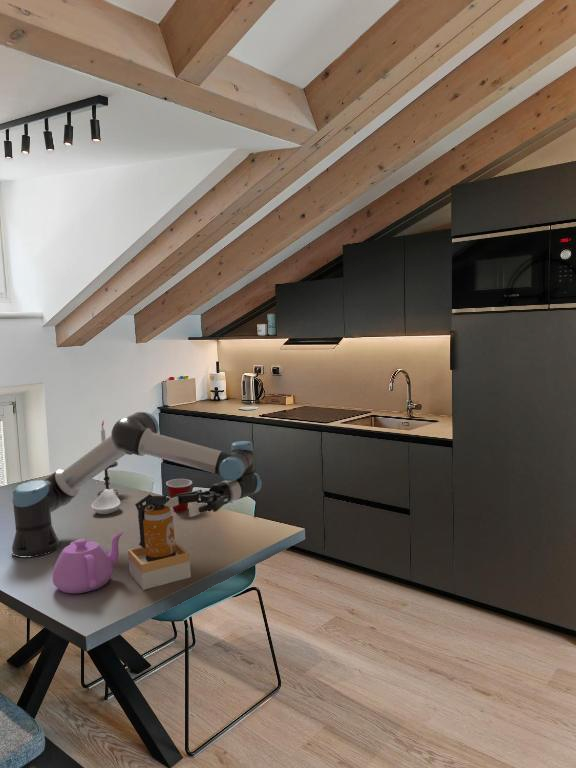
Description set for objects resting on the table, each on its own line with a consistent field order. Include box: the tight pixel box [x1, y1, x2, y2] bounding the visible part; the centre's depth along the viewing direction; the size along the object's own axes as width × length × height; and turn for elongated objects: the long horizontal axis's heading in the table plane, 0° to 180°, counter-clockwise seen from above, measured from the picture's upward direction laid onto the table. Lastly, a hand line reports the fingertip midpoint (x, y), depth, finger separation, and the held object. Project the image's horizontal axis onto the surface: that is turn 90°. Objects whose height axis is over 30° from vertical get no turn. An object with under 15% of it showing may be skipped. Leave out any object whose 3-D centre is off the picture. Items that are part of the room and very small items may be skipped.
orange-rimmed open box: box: [127, 541, 192, 591], centre depth 184 cm, size 15×15×8 cm
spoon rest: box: [90, 488, 121, 515], centre depth 258 cm, size 24×12×7 cm, turn 11°
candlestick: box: [97, 420, 119, 496], centre depth 280 cm, size 11×11×35 cm
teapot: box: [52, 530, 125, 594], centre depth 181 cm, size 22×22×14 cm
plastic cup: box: [165, 478, 193, 513], centre depth 251 cm, size 11×11×12 cm
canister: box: [135, 494, 176, 562], centre depth 183 cm, size 9×11×20 cm
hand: (175, 509), depth 188 cm, fingers open, 13 cm apart
